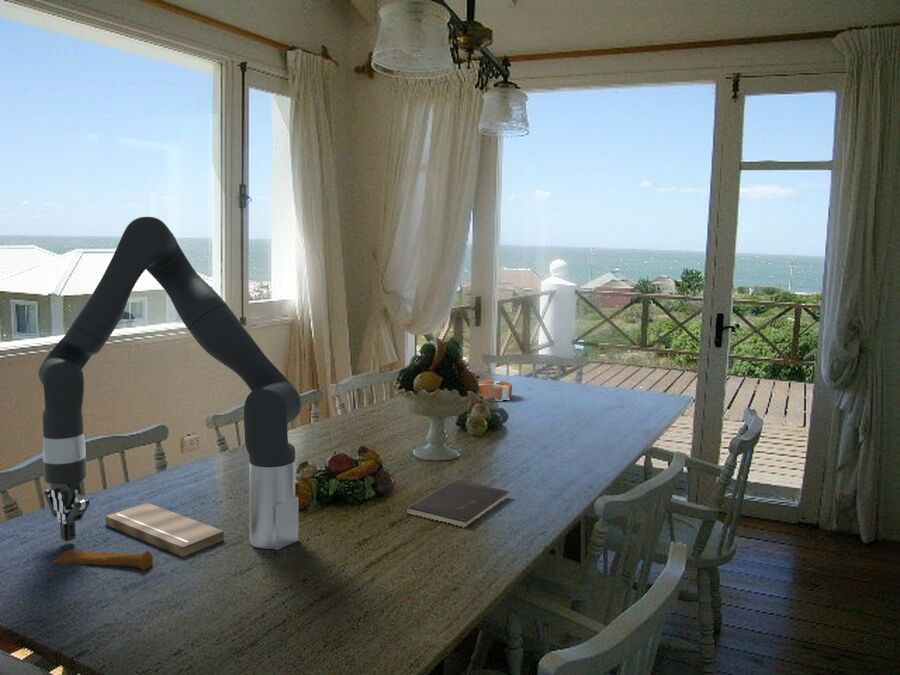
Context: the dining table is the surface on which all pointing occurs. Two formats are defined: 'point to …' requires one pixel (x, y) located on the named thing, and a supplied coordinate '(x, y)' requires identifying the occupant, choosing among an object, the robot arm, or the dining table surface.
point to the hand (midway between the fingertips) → (68, 539)
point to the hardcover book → (457, 502)
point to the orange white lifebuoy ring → (496, 389)
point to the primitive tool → (107, 558)
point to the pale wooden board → (165, 529)
